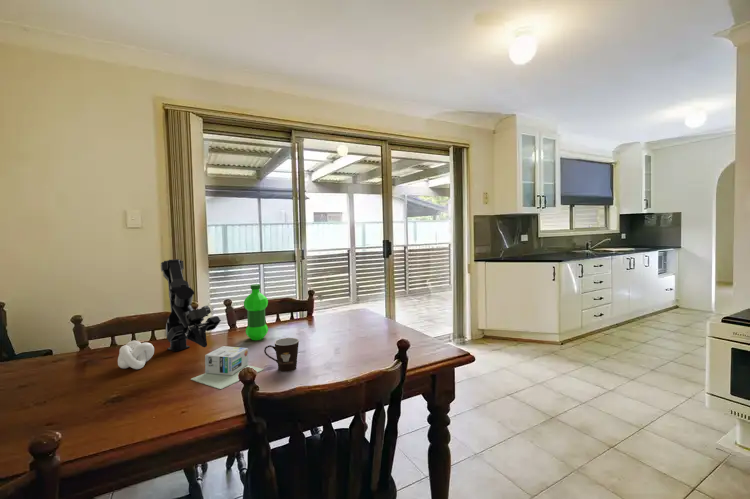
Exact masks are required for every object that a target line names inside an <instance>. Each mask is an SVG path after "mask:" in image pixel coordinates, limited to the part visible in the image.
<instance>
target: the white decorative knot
mask: <svg viewBox="0 0 750 499" xmlns="http://www.w3.org/2000/svg"><path fill="white" fill-rule="evenodd" d="M154 354H155V347H154V346H153V344H152V343H150V342H141V341H139V340H134V339H133V340H131V341H129V342H127V343H126V344H124V345H122V346H121V347H120V348H119V354H118V357H117V366H118V367H119V368H120V369H124V370H126V369H128V368H132V369H133V370H140V369H142V368H144V366H145V364H146V363H147V362H148V361H149V360H151V359H152V358H153V355H154Z"/></svg>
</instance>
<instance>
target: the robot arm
mask: <svg viewBox="0 0 750 499" xmlns="http://www.w3.org/2000/svg"><path fill="white" fill-rule="evenodd" d="M184 270H185V267H184V260H181V259H178V258H175V259H167V260H164V261H162V262H161V263H160V271H161V272H162V276H163V278H164V279H165V280H166V281H167V284H168V298H169V306H170V314H169V315H168V318H167V322H166V323H165V336H166V339H167V341H168V342H169V343H170V347H166V350H168V351H172V352H175V353H176V352H179V351H183V350H187V349H188V348H190V345H187V340H188V341H191V342H193V343H195V344H197V345H198V346H201V347H202V348H207V346H208V341H207V332H210V331H214V330H215V329H216V328H217V327H218V325H219V324H220V323H221V321H222V320H221V318H220V317H219V316H217V315H214V316H211V317H209V315H210V314H212V313H211V312H212V310H211V307H209V305H208V304H207V305H204V306H202V307H201V308H197V309H194V307H193V306H192V303H193V298H194V295H195V290H193V288H192V287H191V286H190V284H189V281H186V280H184V276H183V271H184ZM205 317H207V320H206V321H204V320H205V319H204V318H205Z"/></svg>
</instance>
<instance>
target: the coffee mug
mask: <svg viewBox="0 0 750 499" xmlns="http://www.w3.org/2000/svg"><path fill="white" fill-rule="evenodd" d="M299 342H300V340H299V339H298V338H295V337H285V338H284V337H282V338H279V339H276V340H275V341H274V345H272V344H271V345H267V346H265V347H264V349H263V353H264V354H265V356H267V357H268V358H269V359H271V360H273V361H274V362H276V363H277V369H278V371H279V372H282V373H286V372H287V373H288V372H292V371H295V370H296V369H297V365H298V353H299ZM268 348H272V349H273V350H274V351H275V355H276V356H275V357H276V358H274V357H272V356H270V355H269V354H268V353H267V349H268Z"/></svg>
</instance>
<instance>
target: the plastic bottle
mask: <svg viewBox="0 0 750 499" xmlns="http://www.w3.org/2000/svg"><path fill="white" fill-rule="evenodd" d="M260 289H261V284H260V283H259V284H257V283H255V284H250V290H251V293H250V294H248V296H246V297H245V299H244V300H243V306H244V309H245V310H246V313H247V319H246V321H247V326H246V328H245V334H246V336H247V337H248V338H249V339H251V341H261V340H263V339H264V338H265V336H266V335H267V334H268V332H269V327H268V325H267V322H266V319H267V318H266V308H267V307H268V304H269V300H268V298H267V297H266V296H265V295H264V294H263V293H261V292H260Z"/></svg>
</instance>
